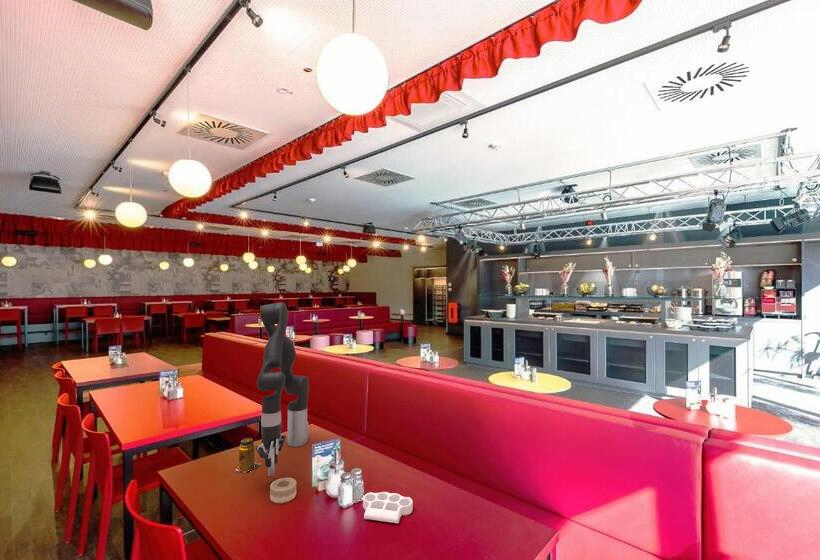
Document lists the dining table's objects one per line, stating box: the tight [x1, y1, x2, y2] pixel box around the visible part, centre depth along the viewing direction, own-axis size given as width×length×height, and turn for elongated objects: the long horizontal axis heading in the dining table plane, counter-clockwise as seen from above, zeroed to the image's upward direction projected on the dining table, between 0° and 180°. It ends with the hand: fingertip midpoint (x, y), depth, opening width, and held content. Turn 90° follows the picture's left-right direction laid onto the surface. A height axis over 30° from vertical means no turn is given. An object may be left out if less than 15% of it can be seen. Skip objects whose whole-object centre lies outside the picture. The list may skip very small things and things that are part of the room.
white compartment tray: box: [362, 491, 414, 524], centre depth 132 cm, size 3×18×15 cm
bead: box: [269, 477, 297, 504], centre depth 140 cm, size 9×9×4 cm
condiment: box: [234, 437, 263, 472], centre depth 161 cm, size 7×8×12 cm
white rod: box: [267, 447, 276, 477], centre depth 150 cm, size 2×2×12 cm
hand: (271, 465), depth 150 cm, fingers closed on white rod, 2 cm apart
